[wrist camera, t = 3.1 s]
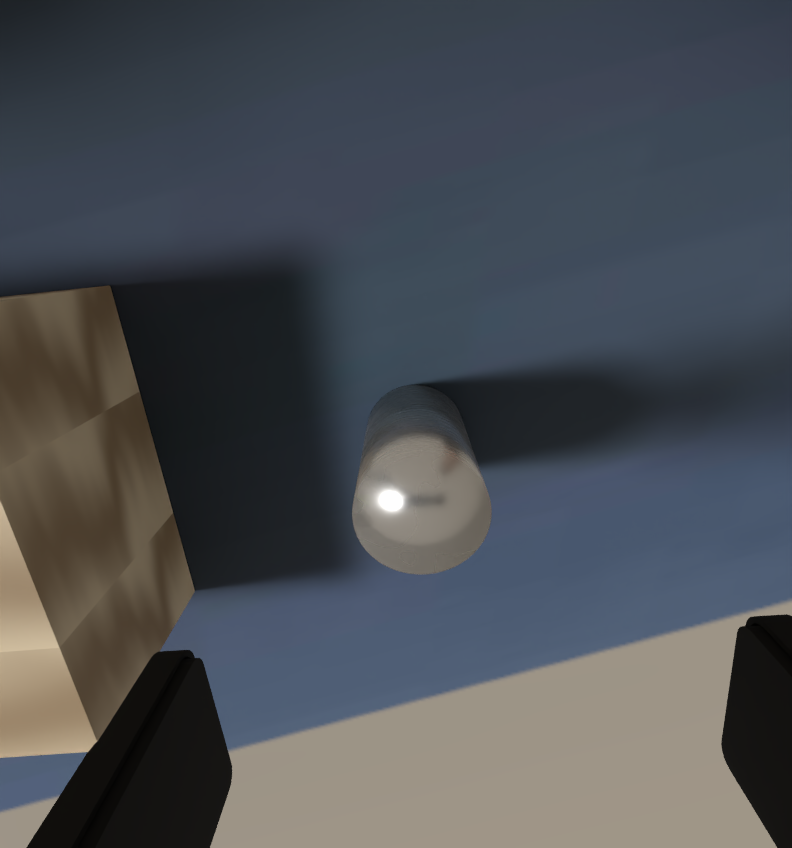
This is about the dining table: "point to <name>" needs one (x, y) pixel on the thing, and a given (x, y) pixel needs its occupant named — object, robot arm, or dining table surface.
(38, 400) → the socket block
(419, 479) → the peg
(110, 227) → the dining table surface
